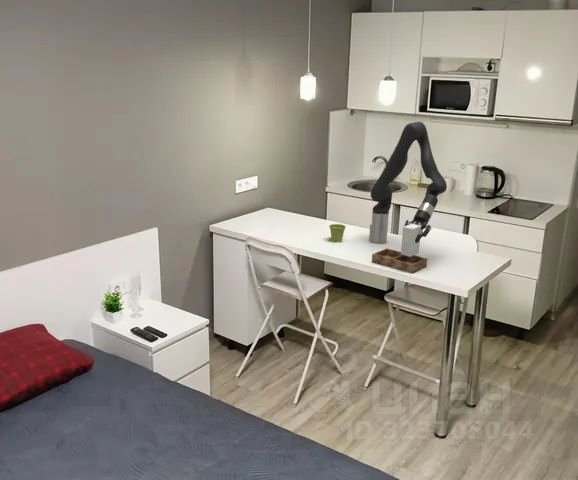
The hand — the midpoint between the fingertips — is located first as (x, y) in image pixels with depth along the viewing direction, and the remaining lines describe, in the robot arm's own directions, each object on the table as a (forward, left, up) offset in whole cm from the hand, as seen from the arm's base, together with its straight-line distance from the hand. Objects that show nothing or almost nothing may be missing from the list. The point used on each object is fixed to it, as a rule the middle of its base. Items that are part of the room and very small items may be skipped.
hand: (410, 240), depth 306 cm
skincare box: (0, +1, -7) cm, 8 cm away
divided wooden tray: (-6, +1, -14) cm, 15 cm away
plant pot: (-54, +12, -14) cm, 57 cm away
